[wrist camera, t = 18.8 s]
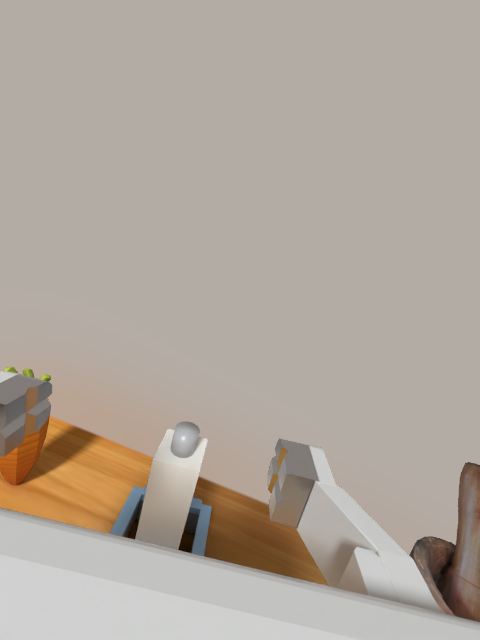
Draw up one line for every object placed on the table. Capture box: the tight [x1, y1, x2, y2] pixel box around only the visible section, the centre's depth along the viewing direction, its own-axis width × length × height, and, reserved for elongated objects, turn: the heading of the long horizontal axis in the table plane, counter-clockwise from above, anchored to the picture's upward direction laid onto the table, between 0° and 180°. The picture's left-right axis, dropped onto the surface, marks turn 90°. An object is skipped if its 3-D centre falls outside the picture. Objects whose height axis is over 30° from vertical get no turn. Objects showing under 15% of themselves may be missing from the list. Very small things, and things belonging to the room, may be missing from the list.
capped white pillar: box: [135, 422, 208, 550], centre depth 25 cm, size 4×4×16 cm
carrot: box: [0, 367, 51, 485], centre depth 29 cm, size 5×5×15 cm
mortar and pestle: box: [409, 462, 480, 622], centre depth 21 cm, size 12×9×20 cm
